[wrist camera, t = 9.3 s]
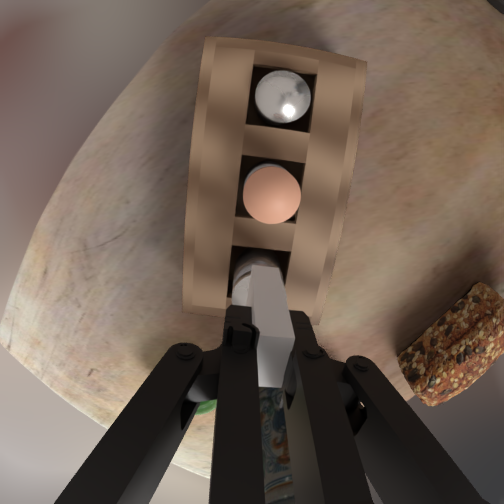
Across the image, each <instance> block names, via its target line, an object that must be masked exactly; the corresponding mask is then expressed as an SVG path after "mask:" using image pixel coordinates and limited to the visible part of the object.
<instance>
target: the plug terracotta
mask: <svg viewBox="0 0 504 504" xmlns="http://www.w3.org/2000/svg"><path fill="white" fill-rule="evenodd" d="M300 200H301V191H300V187H299V185H298V182H297V181H296V179H295V178H294V177H293V176H292V175H291V174H290V173H289V172H288V171H287V170H286V169H285V168H283V167H282V166H281V165H280V164H278V163H276V162H272V161H262V162H259V163H257V164H255V165H254V166H252V167H251V168H250V169H249V171H248V172H247V174H246V177H245V182H244V190H243V201H244V205H245V208H246V209H247V211H248V212H249V214H250V215H251V216H252V217H253V218H255V219H256V220H258V221H260V222H262V223H266V224H277V223H281V222H284V221H286V220H287V219H289V218H290V217H291V216H292V215H293V214H294V213H295V212H296V211H297V209H298V207H299V204H300Z"/></svg>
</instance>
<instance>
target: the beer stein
mask: <svg viewBox="0 0 504 504" xmlns="http://www.w3.org/2000/svg"><path fill="white" fill-rule="evenodd" d="M284 388H285V384H284V380H283V384H282V387H281V388H275V387H260V386H259V399H260V417H261V435H262V453H263V471H264V489H265V504H295V497H294V488H293V480H292V471H291V463H290V454H289V446H288V438H287V429H286V421H285V413H284V405H282V408H279V404H280V401H281V398H282V395H283V391H284Z"/></svg>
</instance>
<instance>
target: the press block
mask: <svg viewBox="0 0 504 504" xmlns="http://www.w3.org/2000/svg"><path fill="white" fill-rule="evenodd" d="M366 70H367V62H366V61H363V60H359V59H356V58H352V57H348V56H344V55H340V54H336V53H331V52H327V51H322V50H318V49H313V48H307V47H302V46H296V45H290V44H284V43H277V42H270V41H262V40H253V39H242V38H229V37H209V36H205V41H204V48H203V54H202V60H201V67H200V74H199V81H198V89H197V96H196V104H195V113H194V121H193V131H192V140H191V150H190V161H189V173H188V185H187V199H186V215H185V233H184V256H183V291H182V312H184V313H192V314H200V315H208V316H217V317H225V314H226V309H227V308H228V307H229V306H230V305H231V304H232V289H233V280H234V271H235V263H236V259H237V257H238V255H239V254H240V253H241V252H242V251H243V250H245V249H246V248H248V247H254V248H264V249H271V250H272V251H273V252H274V253H275V254H276V255H277V257H278V259H279V263H280V267H281V272H282V276H283V281H284V285H285V290H286V295H287V305H288V309H289V310H296V311H303V312H304V313H305V314H306V315H307V316H308V317H309V319H310V322H311V325H319V323H320V319H321V316H322V312H323V308H324V305H325V301H326V297H327V293H328V289H329V285H330V281H331V277H332V273H333V268H334V264H335V260H336V255H337V251H338V247H339V242H340V237H341V233H342V228H343V223H344V218H345V213H346V208H347V203H348V198H349V192H350V187H351V181H352V175H353V170H354V164H355V157H356V151H357V144H358V138H359V130H360V123H361V115H362V107H363V99H364V90H365V80H366ZM274 71H289V72H293V73H295V74H297V75H298V76H300V77H301V78H302V79H303V80H304V81H305V82H306V84H307V85H308V87H309V90H310V95H311V100H310V105H309V107H308V109H307V111H306V112H305V113H304V115H302V116H301V117H300V118H298V119H296V120H294V121H291V122H289V123H286V124H283V125H271V124H268V123H266V122H264V121H263V120H261V119H260V118H259V116H258V115H257V113H256V111H255V107H254V100H255V92H256V88H257V85H258V84H259V82H260V81H261V79H262V78H263V77H265V76H266V75H267V74H269V73H271V72H274ZM262 161H272V162H276V163H278V164H280V165H281V166H282V167H283V168H285V169H286V170H287V171H288V172H289V173H290V174H291V175H292V176H293V177H294V178H295V179H296V181H297V182H298V185H299V187H300V191H301V200H300V204H299V207H298V209H297V211H296V212H295V213H294V214H293V215H292V216H291V217H290V218H289V219H287V220H286V221H284V222H281V223H277V224H266V223H262V222H260V221H258V220H256V219H255V218H253V217H252V216H251V215H250V214H249V212H248V211H247V209H246V208H245V205H244V201H243V190H244V182H245V177H246V174H247V172H248V171H249V169H250V168H251V167H252V166H254V165H255V164H257V163H259V162H262Z"/></svg>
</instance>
